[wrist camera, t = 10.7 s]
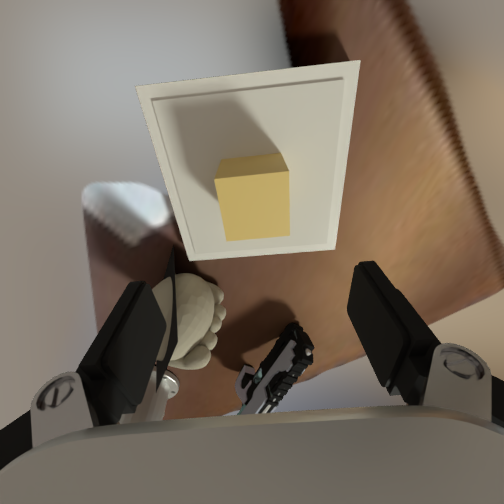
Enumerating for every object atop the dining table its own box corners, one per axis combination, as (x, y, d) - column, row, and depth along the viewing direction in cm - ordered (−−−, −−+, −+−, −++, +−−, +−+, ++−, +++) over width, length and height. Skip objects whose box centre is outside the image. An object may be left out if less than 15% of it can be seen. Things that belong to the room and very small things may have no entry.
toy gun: (294, 308, 40) (321, 355, 31) (243, 382, 44) (252, 444, 35) (283, 303, 40) (306, 350, 30) (232, 379, 44) (238, 441, 34)
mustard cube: (282, 207, 23) (290, 235, 18) (230, 213, 23) (226, 241, 19) (281, 152, 20) (289, 171, 16) (221, 159, 20) (214, 179, 16)
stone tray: (329, 239, 27) (335, 250, 25) (192, 250, 28) (188, 262, 26) (350, 61, 18) (361, 59, 16) (144, 85, 19) (133, 86, 17)
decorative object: (230, 253, 31) (208, 300, 36) (148, 240, 26) (136, 296, 31) (256, 339, 22) (222, 385, 27) (140, 342, 18) (125, 397, 23)
